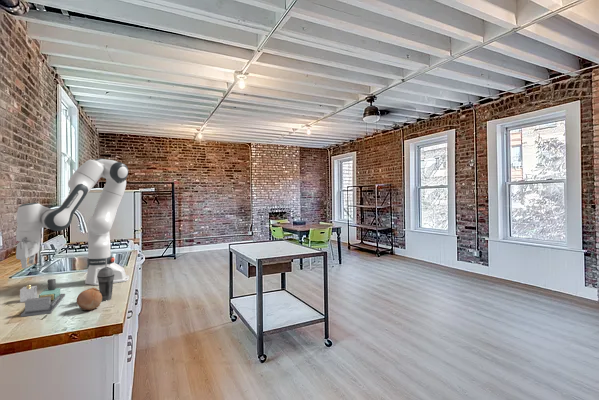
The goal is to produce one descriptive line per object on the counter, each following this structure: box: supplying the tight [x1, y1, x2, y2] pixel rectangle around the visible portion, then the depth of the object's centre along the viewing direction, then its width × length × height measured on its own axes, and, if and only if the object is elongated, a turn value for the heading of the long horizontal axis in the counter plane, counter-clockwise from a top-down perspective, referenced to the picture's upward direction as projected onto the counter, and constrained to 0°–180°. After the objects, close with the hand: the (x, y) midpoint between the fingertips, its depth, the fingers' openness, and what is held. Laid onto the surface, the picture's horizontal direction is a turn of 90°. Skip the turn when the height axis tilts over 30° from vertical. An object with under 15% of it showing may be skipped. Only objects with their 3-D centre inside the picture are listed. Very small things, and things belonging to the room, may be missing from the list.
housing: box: [19, 284, 38, 303], centre depth 149 cm, size 5×5×7 cm
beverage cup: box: [97, 258, 115, 302], centre depth 151 cm, size 7×7×20 cm
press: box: [20, 293, 66, 318], centre depth 142 cm, size 10×26×6 cm, turn 26°
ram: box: [38, 278, 61, 300], centre depth 149 cm, size 6×11×8 cm, turn 26°
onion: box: [76, 287, 103, 311], centre depth 138 cm, size 10×9×10 cm
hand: (28, 265), depth 149 cm, fingers open, 8 cm apart
